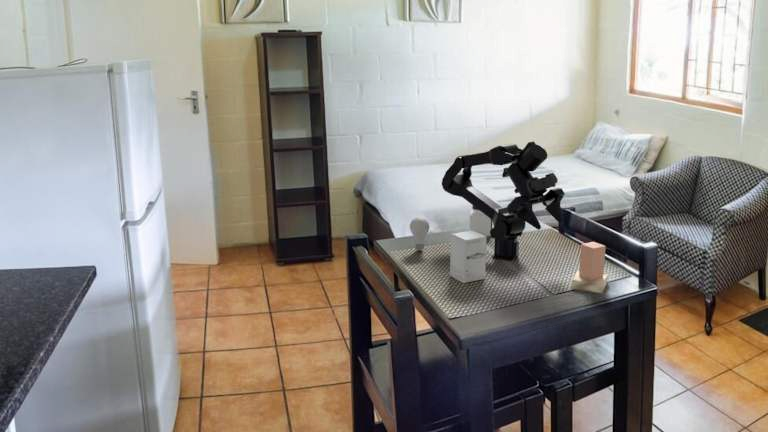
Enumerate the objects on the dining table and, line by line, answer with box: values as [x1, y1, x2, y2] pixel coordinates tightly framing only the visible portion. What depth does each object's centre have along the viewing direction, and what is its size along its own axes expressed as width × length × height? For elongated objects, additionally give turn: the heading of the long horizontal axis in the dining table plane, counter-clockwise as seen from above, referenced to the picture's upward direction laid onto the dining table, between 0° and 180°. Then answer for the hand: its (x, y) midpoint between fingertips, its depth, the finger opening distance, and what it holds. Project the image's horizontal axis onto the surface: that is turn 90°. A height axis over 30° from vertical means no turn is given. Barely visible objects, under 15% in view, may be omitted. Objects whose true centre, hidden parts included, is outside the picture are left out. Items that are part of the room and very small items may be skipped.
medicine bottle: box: [469, 205, 493, 237], centre depth 238 cm, size 7×7×12 cm
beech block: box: [571, 270, 609, 294], centre depth 191 cm, size 8×8×3 cm
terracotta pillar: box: [578, 241, 607, 281], centre depth 189 cm, size 4×4×9 cm
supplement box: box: [449, 230, 487, 284], centre depth 197 cm, size 7×7×13 cm
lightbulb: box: [409, 216, 430, 252], centre depth 220 cm, size 6×6×11 cm
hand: (551, 225), depth 198 cm, fingers open, 9 cm apart
